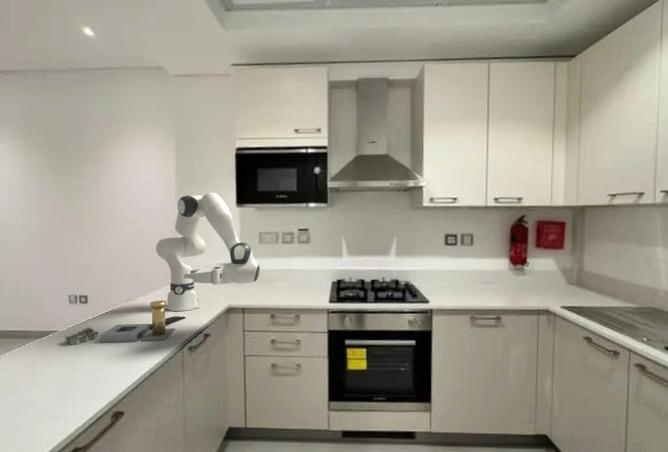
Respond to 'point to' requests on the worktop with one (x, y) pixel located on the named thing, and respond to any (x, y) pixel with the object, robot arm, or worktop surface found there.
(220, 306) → the worktop surface
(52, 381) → the worktop surface
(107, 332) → the housing
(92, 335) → the egg carton
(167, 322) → the wood
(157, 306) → the round headed pin
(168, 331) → the mat
